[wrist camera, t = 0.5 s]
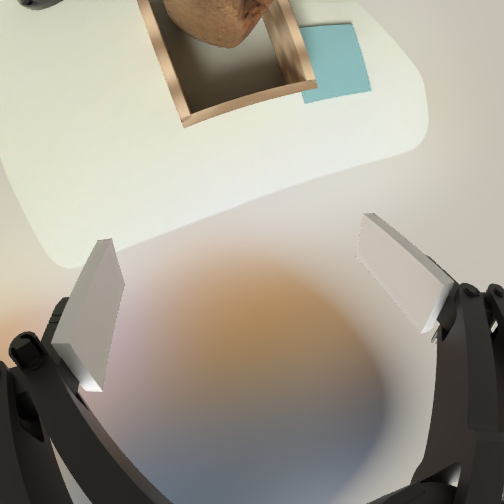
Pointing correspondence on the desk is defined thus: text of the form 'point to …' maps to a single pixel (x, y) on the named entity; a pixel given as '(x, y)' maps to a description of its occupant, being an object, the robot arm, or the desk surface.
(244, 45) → the desk surface
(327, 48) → the mat
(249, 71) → the desk surface
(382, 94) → the desk surface
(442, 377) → the robot arm
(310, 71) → the wooden u-shaped enclosure
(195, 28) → the brown pitted rock
